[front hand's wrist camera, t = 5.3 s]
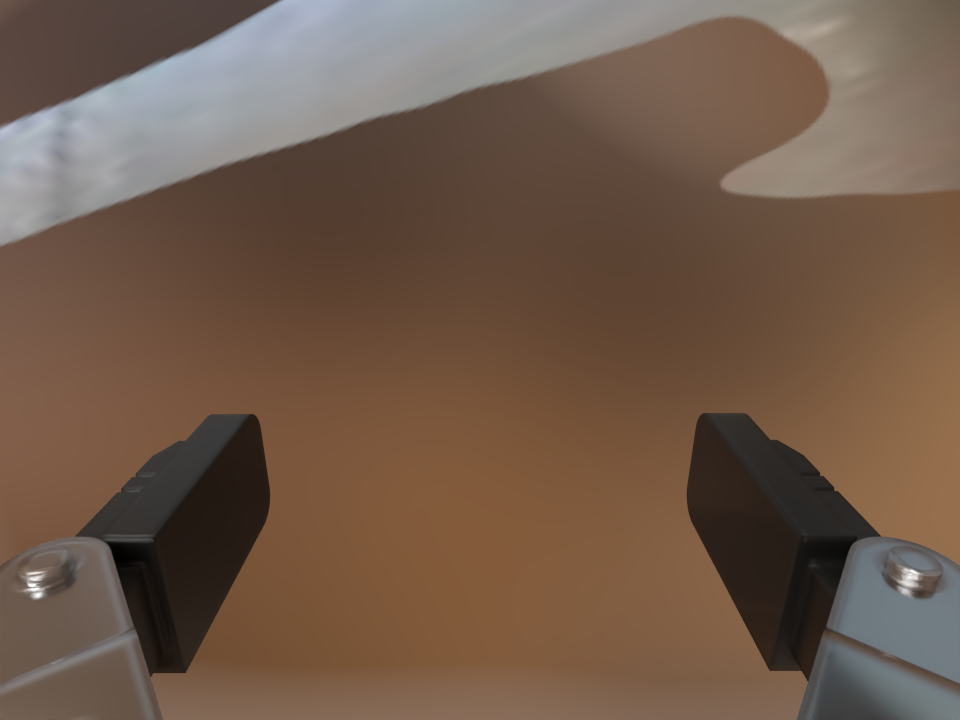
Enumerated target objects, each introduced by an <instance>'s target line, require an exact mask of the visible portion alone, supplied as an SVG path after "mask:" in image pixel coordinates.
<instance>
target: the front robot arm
mask: <svg viewBox="0 0 960 720" xmlns="http://www.w3.org/2000/svg"><path fill="white" fill-rule="evenodd" d="M687 504H688V511H689V515H690V518H691V521H692V523H693V525H694V527H695V529H696V531H697V533H698V535H699V537H700V539H701V541H702V543H703V544H704V546H705V548H706V550H707V552H708V554H709V556H710V558H711V560H712V562H713V564H714V565H715V567H716V569H717V571H718V573H719V575H720V577H721V579H722V581H723V583H724V585H725V586H726V588H727V590H728V592H729V594H730V596H731V598H732V600H733V602H734V604H735V606H736V607H737V609H738V611H739V613H740V615H741V617H742V619H743V621H744V623H745V625H746V627H747V628H748V630H749V632H750V634H751V636H752V638H753V640H754V642H755V644H756V646H757V648H758V649H759V651H760V653H761V655H762V657H763V659H764V661H765V663H766V665H767V667H768V669H769V670H770V671H802V672H803V674H804V675H805V677H806V679H807V681H808V685H807V688H806V691H805V695H804V698H803V701H802V704H801V708H800V711H799V714H798V717H797V720H960V566H959V565H958V564H956V563H955V562H953V561H952V560H950V559H949V558H947V557H945V556H944V555H942V554H940V553H938V552H936V551H934V550H932V549H929V548H927V547H925V546H922V545H919V544H916V543H913V542H910V541H906V540H902V539H897V538H890V537H881V536H880V535H879V534H878V533H877V531H876V530H875V529H874V528H873V527H872V526H871V525H870V524H869V523H868V522H867V521H866V520H865V519H864V518H863V517H862V516H861V515H860V514H859V513H858V512H857V511H856V510H855V509H854V507H853V506H852V505H851V504H850V503H849V502H848V501H847V500H846V499H845V498H844V497H843V496H842V495H841V494H840V493H839V492H838V491H834V487H833V486H832V485H831V484H830V482H829V481H828V480H827V479H826V478H825V477H824V476H820V472H819V471H818V470H817V469H816V468H815V467H814V466H813V465H812V464H811V463H810V462H809V461H808V460H807V458H805V456H804V455H802V454H801V453H799V452H797V451H795V450H794V449H792V448H790V447H788V446H787V445H785V444H783V443H781V442H780V441H778V440H770V439H769V438H768V437H767V436H766V434H765V433H764V432H763V431H762V430H761V429H760V428H759V427H758V426H757V424H756V423H755V422H754V421H753V420H752V419H751V418H750V417H749V416H748V415H747V414H745V413H703V414H701V416H700V417H699V419H698V421H697V425H696V431H695V437H694V444H693V451H692V458H691V465H690V471H689V478H688V485H687ZM269 505H270V488H269V481H268V474H267V467H266V461H265V454H264V447H263V440H262V434H261V428H260V423H259V421H258V418H257V417H256V416H255V415H253V414H211V415H209V416H208V417H207V418H206V419H205V420H204V421H203V422H202V423H201V425H200V426H199V427H198V428H197V429H196V430H195V431H194V432H193V433H192V434H191V436H190V437H189V438H188V439H187V440H186V441H178V442H177V443H175V444H173V445H171V446H170V447H168V448H166V449H164V450H163V451H161V452H159V453H157V454H156V455H154V456H152V458H151V459H150V460H149V461H148V462H147V463H146V464H145V465H144V466H143V467H142V468H141V469H140V470H139V471H138V472H137V473H136V477H132V478H131V479H130V480H129V481H128V482H127V483H126V485H124V486H123V487H122V489H121V493H117V494H116V495H115V496H114V497H113V498H112V499H111V500H110V501H109V502H108V503H107V504H106V505H105V506H104V507H103V508H102V509H101V510H100V511H99V512H98V513H97V514H96V515H95V516H94V518H92V519H91V521H90V522H89V523H88V524H87V525H86V526H85V527H84V528H83V529H82V530H81V531H80V532H79V533H78V534H77V535H76V536H75V537H70V538H63V539H59V540H54V541H50V542H47V543H44V544H41V545H38V546H35V547H33V548H31V549H28V550H26V551H24V552H22V553H20V554H18V555H16V556H15V557H13V558H11V559H10V560H8V561H7V562H5V563H4V564H2V565H1V566H0V720H163V717H162V714H161V711H160V708H159V704H158V701H157V698H156V694H155V691H154V688H153V684H152V681H151V676H152V674H153V673H186V671H187V669H188V667H189V666H190V664H191V662H192V660H193V658H194V656H195V654H196V652H197V651H198V649H199V647H200V645H201V643H202V641H203V639H204V637H205V635H206V634H207V632H208V630H209V628H210V626H211V624H212V622H213V620H214V618H215V617H216V615H217V613H218V611H219V609H220V607H221V605H222V603H223V602H224V600H225V598H226V596H227V594H228V592H229V590H230V588H231V586H232V584H233V583H234V581H235V579H236V577H237V575H238V573H239V571H240V569H241V568H242V566H243V564H244V562H245V560H246V558H247V556H248V554H249V552H250V550H251V549H252V547H253V545H254V543H255V541H256V539H257V537H258V535H259V534H260V532H261V530H262V528H263V526H264V524H265V522H266V519H267V516H268V511H269Z"/></svg>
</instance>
